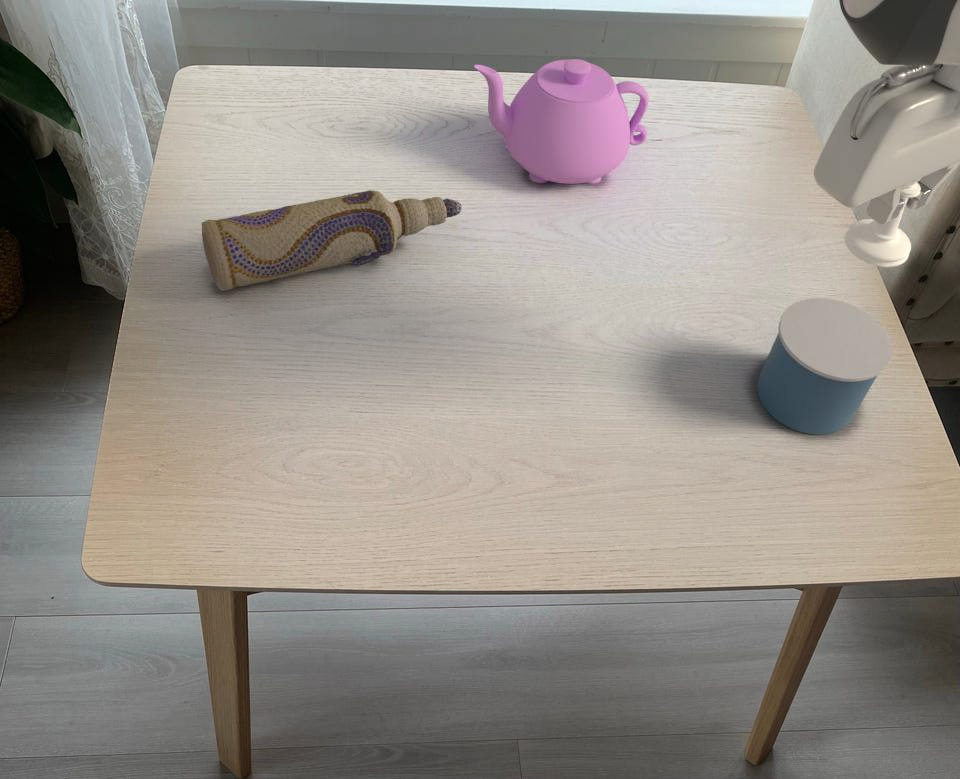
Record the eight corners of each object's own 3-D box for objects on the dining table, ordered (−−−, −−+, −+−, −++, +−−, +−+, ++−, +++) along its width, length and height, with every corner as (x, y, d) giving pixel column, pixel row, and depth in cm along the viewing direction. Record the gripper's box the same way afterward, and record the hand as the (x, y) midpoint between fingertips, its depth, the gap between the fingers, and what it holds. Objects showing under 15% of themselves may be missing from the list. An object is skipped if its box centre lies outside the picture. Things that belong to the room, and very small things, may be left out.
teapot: (471, 198, 103) (478, 100, 94) (464, 123, 112) (470, 27, 103) (651, 201, 105) (675, 104, 96) (629, 126, 114) (650, 32, 105)
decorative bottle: (221, 310, 90) (211, 256, 85) (205, 259, 94) (194, 205, 89) (474, 254, 97) (478, 201, 92) (447, 209, 102) (450, 157, 97)
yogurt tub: (871, 438, 85) (908, 379, 79) (767, 437, 84) (796, 378, 78) (840, 358, 91) (872, 298, 85) (743, 357, 90) (768, 296, 84)
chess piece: (832, 230, 74) (881, 120, 67) (885, 221, 76) (939, 112, 68) (866, 272, 72) (922, 161, 64) (921, 261, 73) (982, 152, 65)
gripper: (914, 104, 55) (830, 281, 65) (1117, 25, 63) (1014, 193, 73) (833, 52, 58) (766, 228, 68) (1037, -17, 66) (948, 150, 76)
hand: (896, 209), depth 71 cm, fingers closed on chess piece
